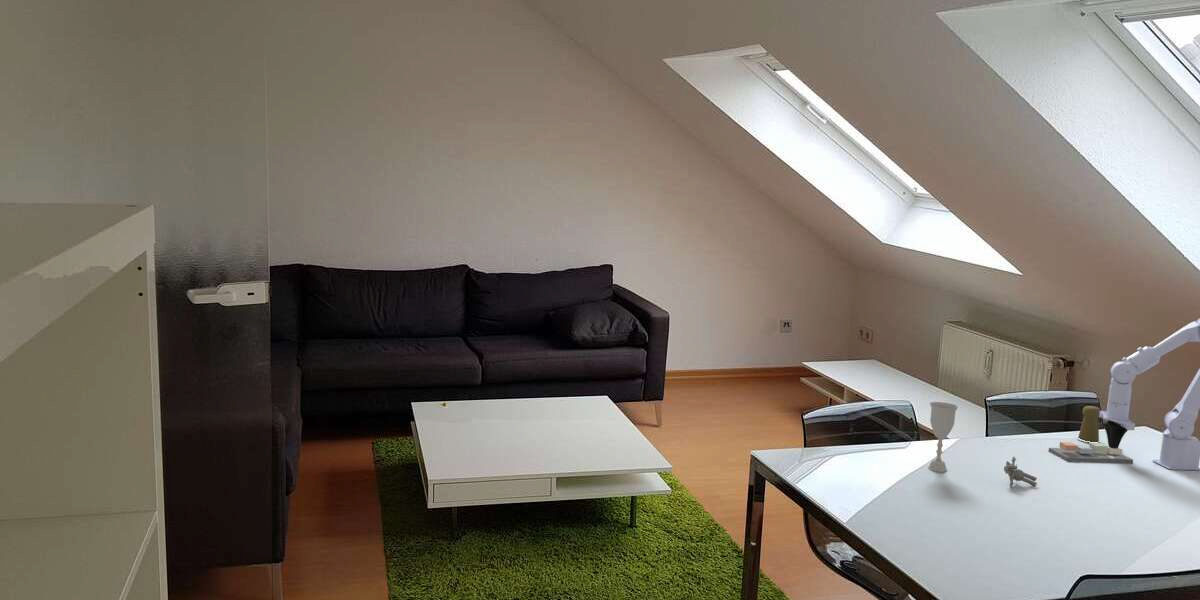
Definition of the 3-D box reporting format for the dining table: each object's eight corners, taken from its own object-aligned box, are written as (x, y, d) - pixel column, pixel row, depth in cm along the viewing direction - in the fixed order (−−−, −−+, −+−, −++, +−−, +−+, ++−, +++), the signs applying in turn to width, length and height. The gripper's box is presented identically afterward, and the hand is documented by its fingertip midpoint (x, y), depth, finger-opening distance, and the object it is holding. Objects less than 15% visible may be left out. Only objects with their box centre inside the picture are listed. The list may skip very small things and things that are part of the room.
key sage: (1100, 448, 287) (1100, 443, 287) (1106, 451, 284) (1107, 446, 283) (1089, 448, 287) (1089, 442, 287) (1095, 451, 283) (1096, 446, 283)
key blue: (1085, 450, 287) (1085, 445, 287) (1091, 453, 283) (1092, 448, 283) (1074, 450, 287) (1074, 445, 286) (1080, 453, 283) (1081, 448, 283)
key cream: (1114, 451, 287) (1115, 445, 287) (1121, 454, 284) (1122, 449, 284) (1103, 450, 287) (1104, 445, 287) (1110, 454, 284) (1111, 448, 284)
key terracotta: (1070, 447, 286) (1071, 442, 286) (1076, 450, 283) (1077, 445, 283) (1059, 447, 286) (1060, 441, 286) (1065, 450, 283) (1066, 445, 283)
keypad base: (1112, 452, 291) (1113, 448, 291) (1132, 462, 281) (1133, 458, 281) (1048, 450, 290) (1048, 447, 289) (1066, 461, 280) (1067, 457, 280)
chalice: (921, 469, 265) (927, 405, 262) (925, 463, 271) (931, 400, 268) (949, 474, 261) (956, 409, 259) (953, 468, 267) (959, 404, 265)
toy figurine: (1041, 493, 250) (1008, 479, 250) (1027, 503, 254) (995, 488, 255) (1043, 462, 256) (1011, 448, 256) (1030, 472, 261) (998, 458, 261)
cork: (1102, 443, 301) (1106, 409, 299) (1083, 442, 301) (1087, 408, 299) (1093, 438, 307) (1097, 404, 305) (1074, 437, 307) (1078, 403, 305)
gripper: (1091, 396, 291) (1086, 440, 292) (1120, 408, 276) (1114, 454, 278) (1114, 397, 291) (1108, 440, 293) (1144, 409, 277) (1138, 455, 279)
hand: (1113, 447), depth 285 cm, fingers closed, pressing on key cream
